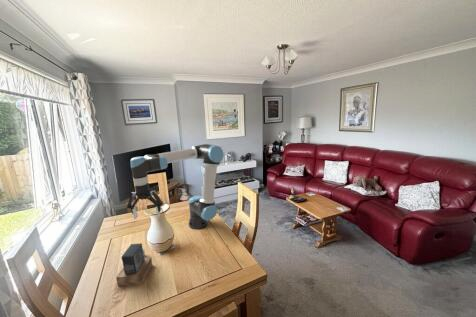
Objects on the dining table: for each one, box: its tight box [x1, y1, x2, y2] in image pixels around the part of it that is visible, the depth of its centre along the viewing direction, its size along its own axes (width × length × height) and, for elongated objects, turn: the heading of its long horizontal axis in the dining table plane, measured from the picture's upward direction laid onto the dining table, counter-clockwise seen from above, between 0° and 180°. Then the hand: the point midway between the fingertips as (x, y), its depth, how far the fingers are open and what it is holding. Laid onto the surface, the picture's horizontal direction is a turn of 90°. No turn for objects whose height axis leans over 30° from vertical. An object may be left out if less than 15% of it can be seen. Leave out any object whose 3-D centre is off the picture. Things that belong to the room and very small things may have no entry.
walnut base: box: [115, 256, 153, 287], centre depth 108 cm, size 12×14×5 cm
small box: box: [121, 243, 145, 274], centre depth 106 cm, size 11×6×10 cm, turn 3°
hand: (147, 217), depth 119 cm, fingers open, 13 cm apart
